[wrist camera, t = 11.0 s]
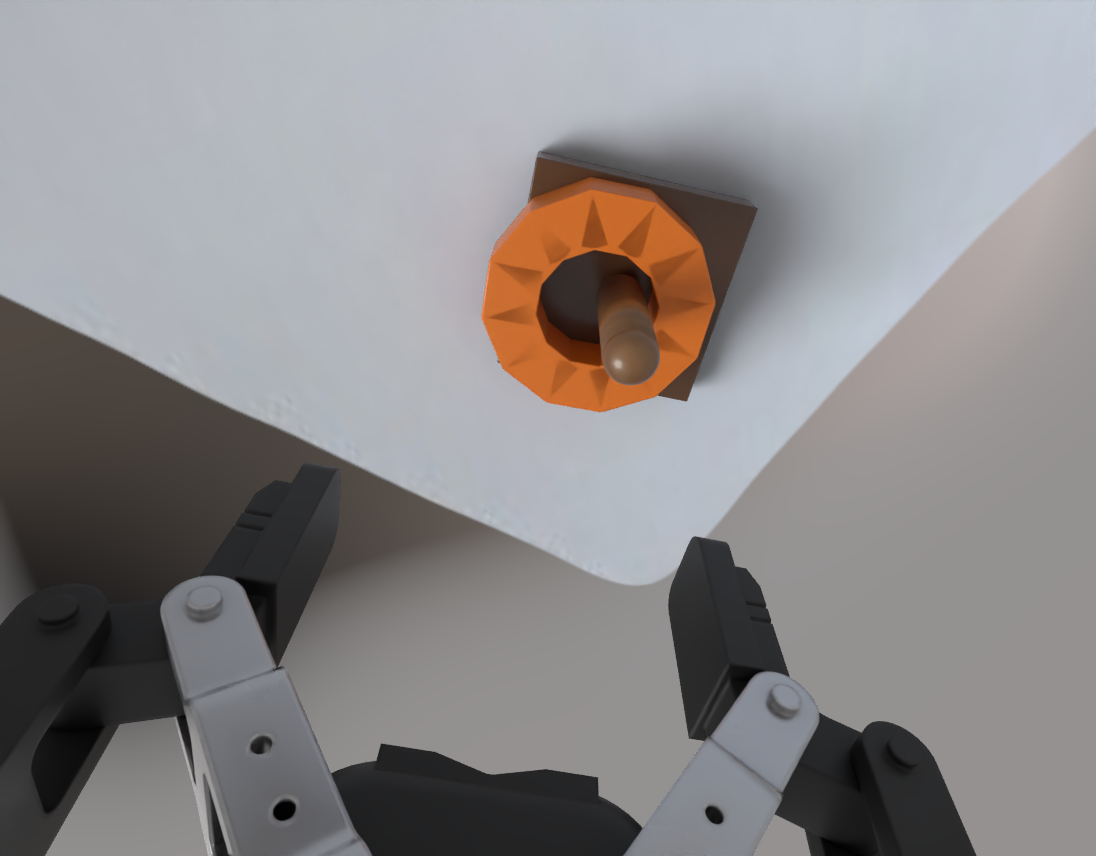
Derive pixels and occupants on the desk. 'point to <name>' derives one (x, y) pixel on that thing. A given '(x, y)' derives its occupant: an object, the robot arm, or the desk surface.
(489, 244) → the desk surface
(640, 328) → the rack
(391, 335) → the desk surface
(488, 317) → the orange faceted ring
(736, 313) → the desk surface
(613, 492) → the desk surface
